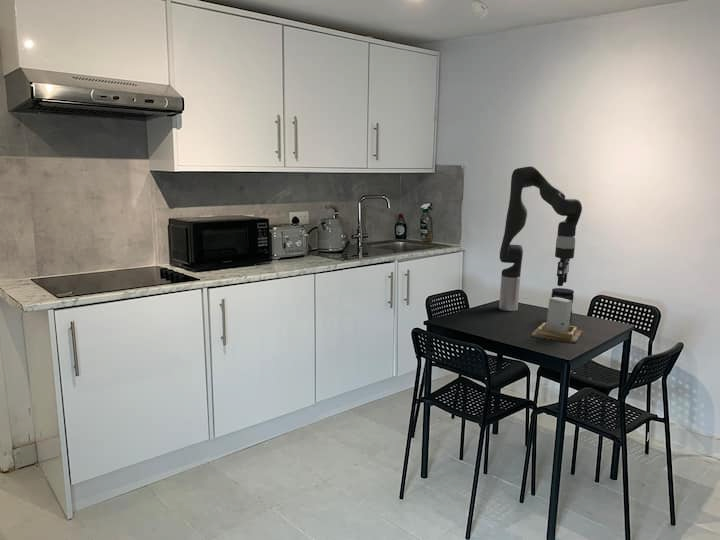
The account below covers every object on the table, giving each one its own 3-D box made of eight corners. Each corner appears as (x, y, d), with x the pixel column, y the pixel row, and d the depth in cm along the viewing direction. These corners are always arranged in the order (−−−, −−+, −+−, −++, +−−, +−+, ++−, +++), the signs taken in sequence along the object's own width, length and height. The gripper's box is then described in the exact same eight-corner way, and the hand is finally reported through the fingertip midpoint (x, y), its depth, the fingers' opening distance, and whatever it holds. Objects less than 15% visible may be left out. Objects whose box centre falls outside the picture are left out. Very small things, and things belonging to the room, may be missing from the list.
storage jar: (562, 317, 269) (564, 287, 267) (575, 323, 260) (578, 291, 258) (544, 319, 266) (547, 288, 264) (558, 324, 257) (560, 292, 255)
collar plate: (540, 326, 252) (540, 320, 252) (582, 333, 244) (582, 326, 243) (531, 336, 237) (531, 329, 236) (575, 343, 228) (576, 336, 228)
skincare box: (545, 331, 241) (547, 298, 239) (551, 328, 246) (553, 296, 243) (563, 335, 236) (567, 301, 233) (569, 332, 240) (572, 299, 237)
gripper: (559, 243, 241) (555, 280, 244) (552, 247, 229) (549, 286, 232) (577, 245, 238) (573, 282, 241) (571, 249, 226) (568, 288, 229)
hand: (561, 284), depth 236 cm, fingers open, 8 cm apart
